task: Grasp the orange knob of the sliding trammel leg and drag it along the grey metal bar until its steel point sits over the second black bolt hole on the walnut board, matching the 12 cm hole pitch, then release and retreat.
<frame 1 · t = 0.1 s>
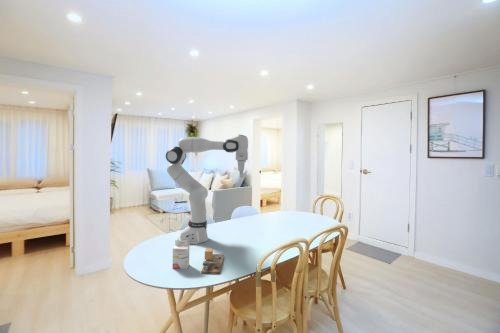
hand: (241, 176, 179), 48 cm above the table, fingers open, 8 cm apart
board: (213, 264, 145), on the table
slider: (211, 255, 145), point 5 cm above the table, slide at 0.0 cm
ink cartridge box: (181, 267, 141), on the table
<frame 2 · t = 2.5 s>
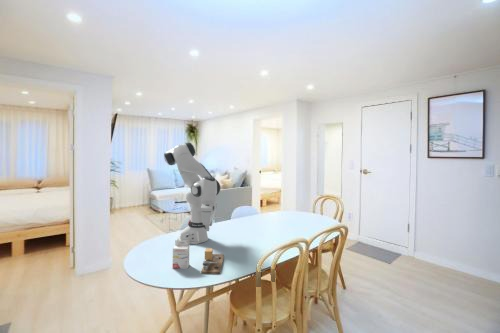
hand: (209, 228, 144), 21 cm above the table, fingers open, 8 cm apart
nothing on the table moved.
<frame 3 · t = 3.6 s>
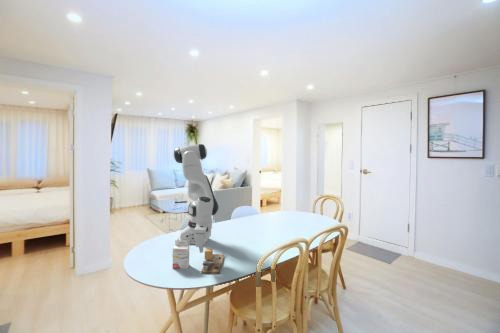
hand: (203, 248, 143), 9 cm above the table, fingers open, 8 cm apart
nothing on the table moved.
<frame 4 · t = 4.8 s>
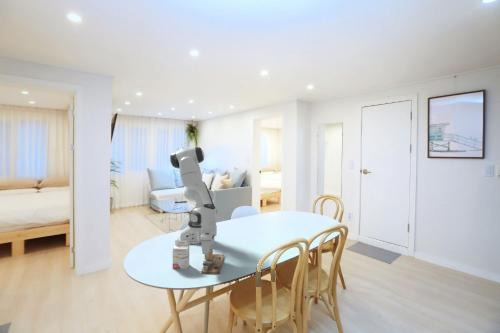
hand: (208, 255, 145), 5 cm above the table, fingers closed on slider, 4 cm apart
slider: (211, 255, 145), point 5 cm above the table, slide at 0.0 cm, touching gripper
everything else where it was.
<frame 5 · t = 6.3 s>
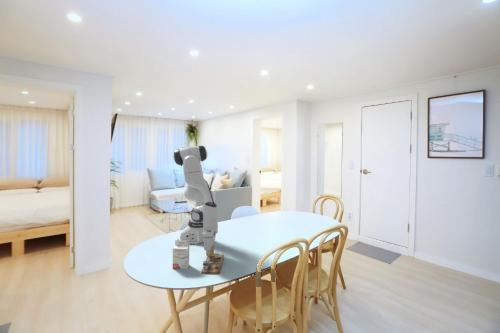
hand: (210, 251, 150), 5 cm above the table, fingers closed on slider, 4 cm apart
slider: (213, 252, 150), point 5 cm above the table, slide at 5.0 cm, touching gripper
everything else where it was.
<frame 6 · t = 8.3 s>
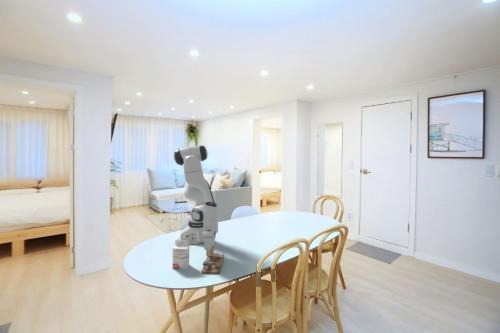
hand: (210, 251, 150), 5 cm above the table, fingers open, 8 cm apart
slider: (213, 251, 150), point 5 cm above the table, slide at 5.1 cm
everything else where it was.
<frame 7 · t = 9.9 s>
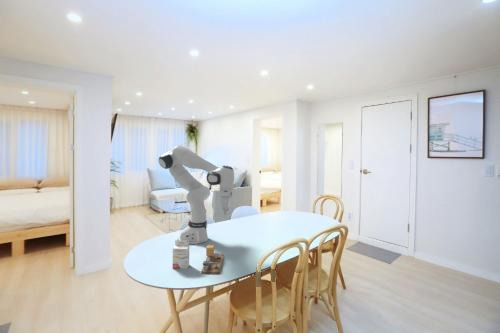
hand: (226, 212, 158), 27 cm above the table, fingers open, 8 cm apart
nothing on the table moved.
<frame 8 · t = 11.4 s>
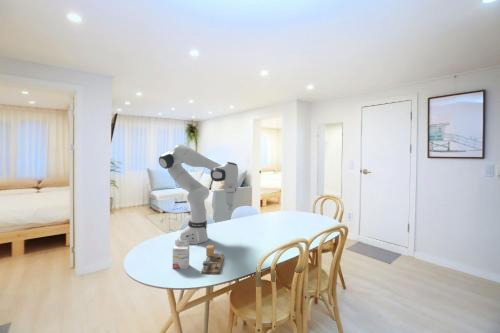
hand: (230, 208, 160), 29 cm above the table, fingers open, 8 cm apart
nothing on the table moved.
at the end: slider slide at 5.1 cm; the gripper is holding nothing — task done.
